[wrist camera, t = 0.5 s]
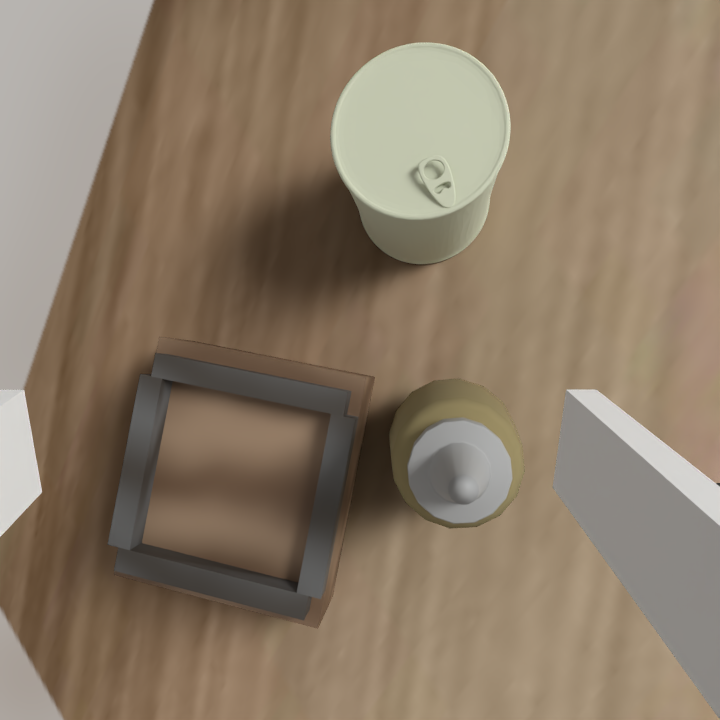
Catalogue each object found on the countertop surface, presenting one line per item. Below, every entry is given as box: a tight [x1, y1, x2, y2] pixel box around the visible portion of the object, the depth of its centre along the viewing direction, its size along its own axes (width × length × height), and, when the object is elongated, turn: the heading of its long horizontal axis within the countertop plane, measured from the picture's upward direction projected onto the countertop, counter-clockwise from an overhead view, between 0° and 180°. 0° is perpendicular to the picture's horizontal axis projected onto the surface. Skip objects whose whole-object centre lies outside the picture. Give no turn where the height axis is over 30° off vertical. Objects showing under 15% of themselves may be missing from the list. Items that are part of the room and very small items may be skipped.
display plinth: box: [108, 337, 375, 628], centre depth 37 cm, size 16×14×6 cm
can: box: [330, 43, 510, 264], centre depth 34 cm, size 9×9×12 cm
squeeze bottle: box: [389, 379, 525, 528], centre depth 30 cm, size 8×8×18 cm
